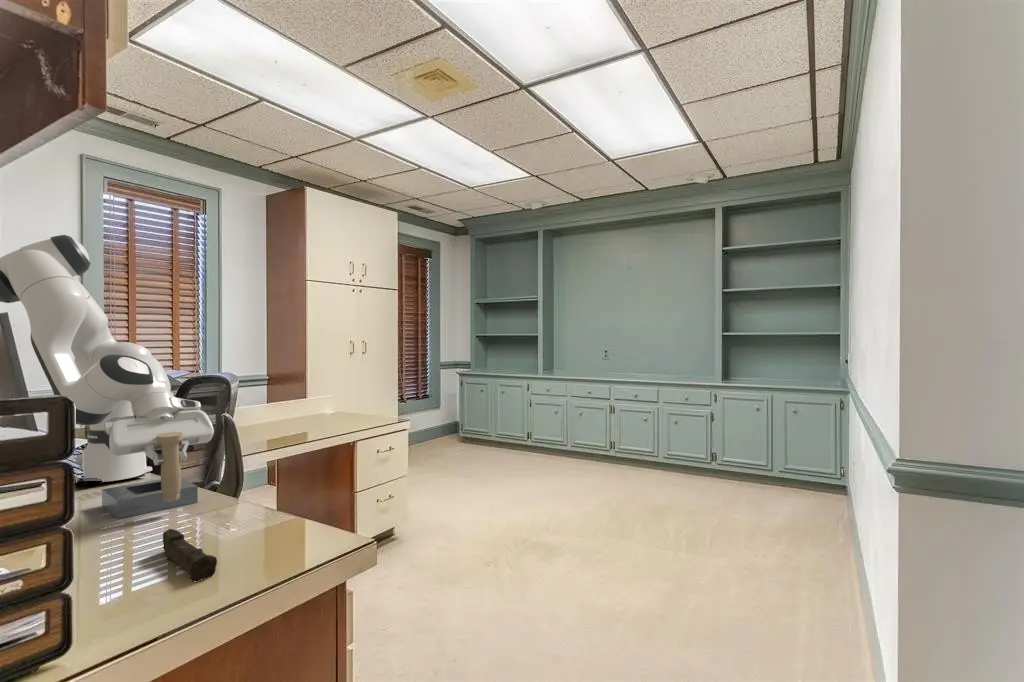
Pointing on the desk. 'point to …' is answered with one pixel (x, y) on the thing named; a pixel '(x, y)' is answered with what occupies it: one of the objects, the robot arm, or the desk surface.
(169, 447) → the handle
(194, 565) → the hand tool
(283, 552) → the desk surface
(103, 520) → the desk surface
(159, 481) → the jig
